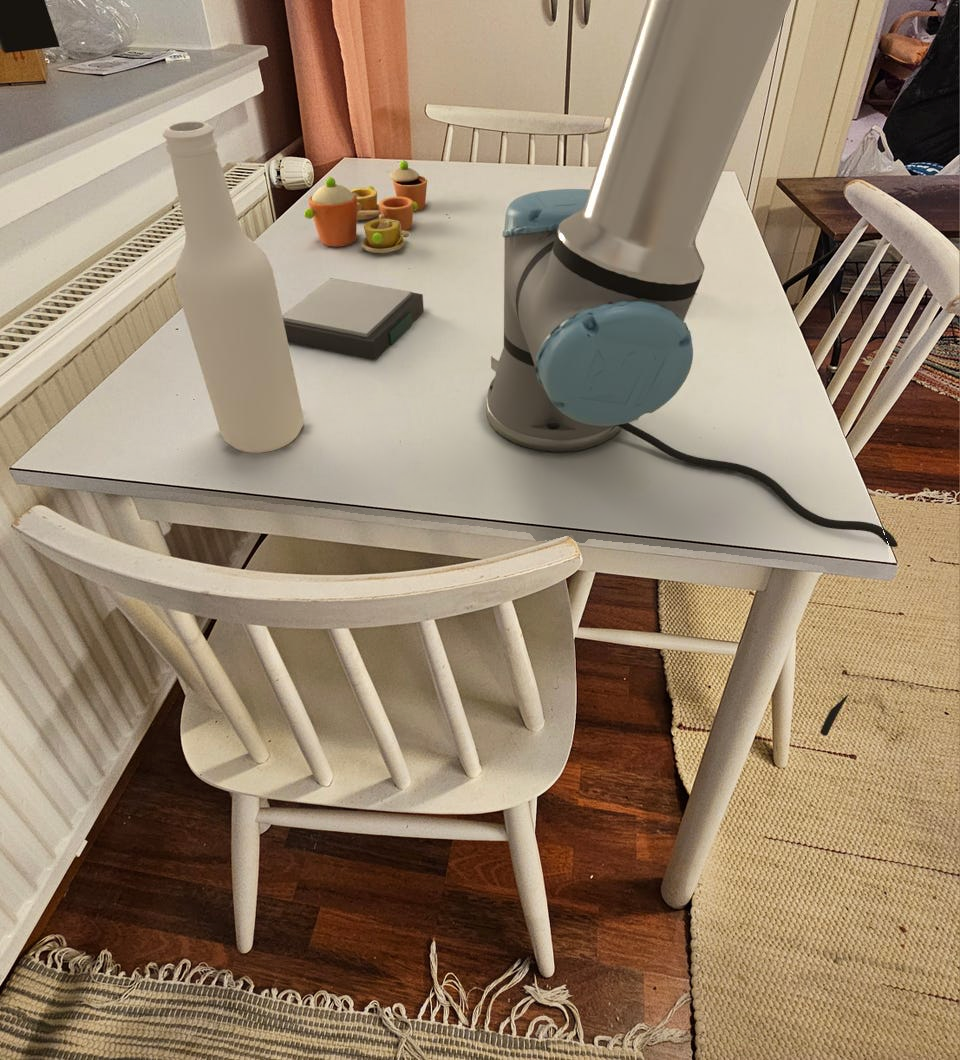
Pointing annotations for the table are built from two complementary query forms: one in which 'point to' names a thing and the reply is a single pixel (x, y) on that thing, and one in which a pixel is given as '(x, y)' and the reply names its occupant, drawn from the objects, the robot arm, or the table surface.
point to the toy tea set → (368, 211)
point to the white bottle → (231, 303)
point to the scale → (352, 318)
